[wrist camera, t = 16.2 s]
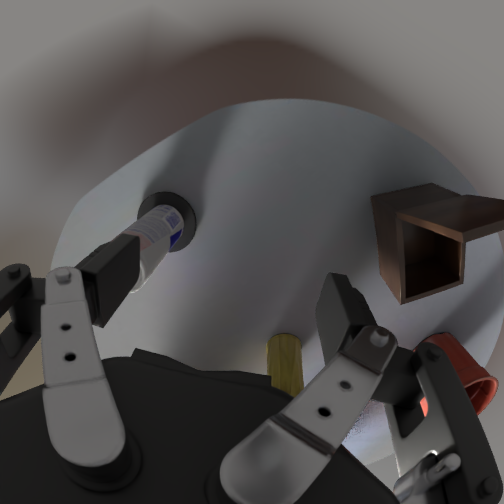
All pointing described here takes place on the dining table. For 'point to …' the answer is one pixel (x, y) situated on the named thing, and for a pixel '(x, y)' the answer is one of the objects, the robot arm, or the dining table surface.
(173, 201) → the mat
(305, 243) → the dining table surface
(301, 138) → the dining table surface
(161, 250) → the beverage can
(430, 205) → the lid
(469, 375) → the flower pot
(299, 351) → the vase
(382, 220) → the chest
